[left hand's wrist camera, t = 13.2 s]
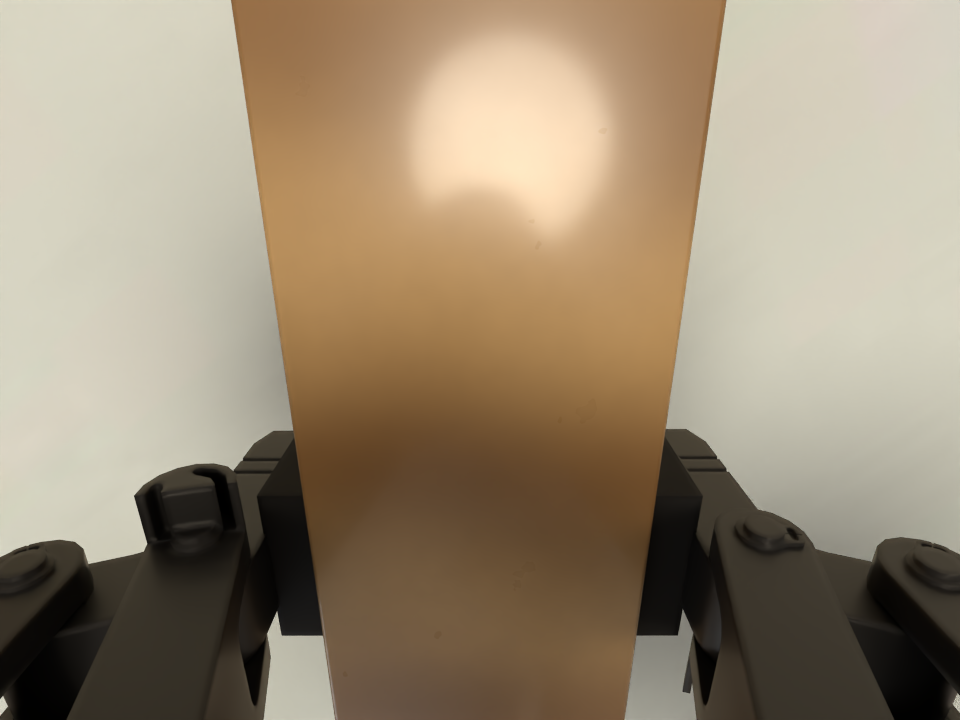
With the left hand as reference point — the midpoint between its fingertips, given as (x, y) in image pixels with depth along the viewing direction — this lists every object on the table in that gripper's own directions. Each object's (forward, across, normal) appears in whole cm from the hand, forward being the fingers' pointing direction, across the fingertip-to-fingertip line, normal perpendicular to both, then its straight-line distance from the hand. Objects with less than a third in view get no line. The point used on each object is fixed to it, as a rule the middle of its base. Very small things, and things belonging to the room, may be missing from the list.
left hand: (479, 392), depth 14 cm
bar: (0, 0, -34) cm, 34 cm away
